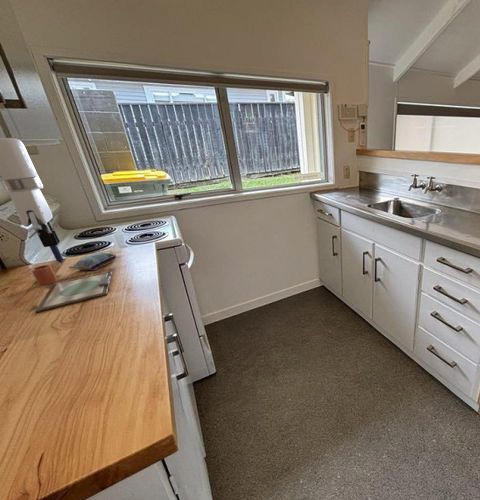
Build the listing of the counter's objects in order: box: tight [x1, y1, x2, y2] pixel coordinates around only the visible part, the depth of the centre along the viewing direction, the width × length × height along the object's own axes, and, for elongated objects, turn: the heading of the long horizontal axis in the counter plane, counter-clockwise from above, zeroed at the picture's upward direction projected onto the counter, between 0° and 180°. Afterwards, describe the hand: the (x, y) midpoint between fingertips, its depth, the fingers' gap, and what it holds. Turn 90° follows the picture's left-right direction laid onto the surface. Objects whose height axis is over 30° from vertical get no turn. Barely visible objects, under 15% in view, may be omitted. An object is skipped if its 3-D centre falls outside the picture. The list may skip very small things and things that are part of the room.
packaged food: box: [68, 252, 118, 271], centre depth 108 cm, size 9×12×5 cm
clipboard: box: [34, 271, 113, 314], centre depth 91 cm, size 16×20×1 cm
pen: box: [48, 245, 64, 263], centre depth 87 cm, size 2×2×12 cm
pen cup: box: [30, 264, 58, 286], centre depth 96 cm, size 5×5×6 cm
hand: (52, 244), depth 87 cm, fingers closed on pen, 1 cm apart
